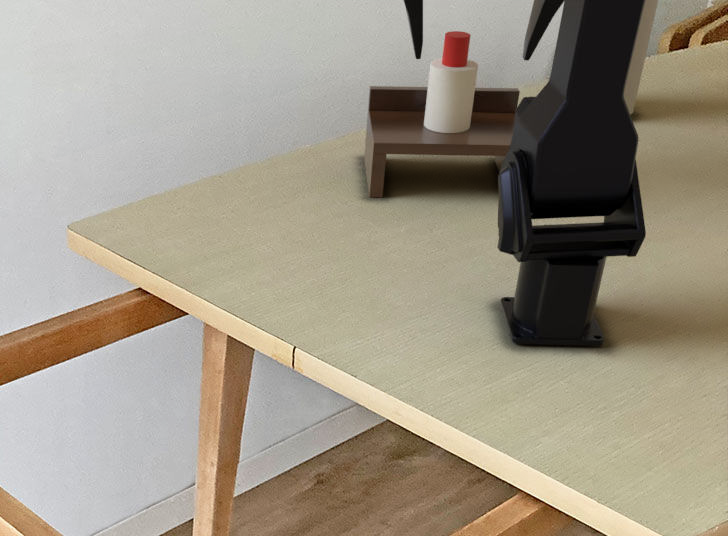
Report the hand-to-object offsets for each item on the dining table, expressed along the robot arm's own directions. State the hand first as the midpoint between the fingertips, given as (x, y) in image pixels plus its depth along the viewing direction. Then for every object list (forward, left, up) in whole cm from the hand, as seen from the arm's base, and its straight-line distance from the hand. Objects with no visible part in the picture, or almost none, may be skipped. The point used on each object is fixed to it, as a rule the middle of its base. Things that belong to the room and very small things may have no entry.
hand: (471, 58), depth 93 cm
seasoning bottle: (+3, +1, -7) cm, 8 cm away
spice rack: (+4, +1, -12) cm, 12 cm away
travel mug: (+25, -18, -12) cm, 33 cm away
